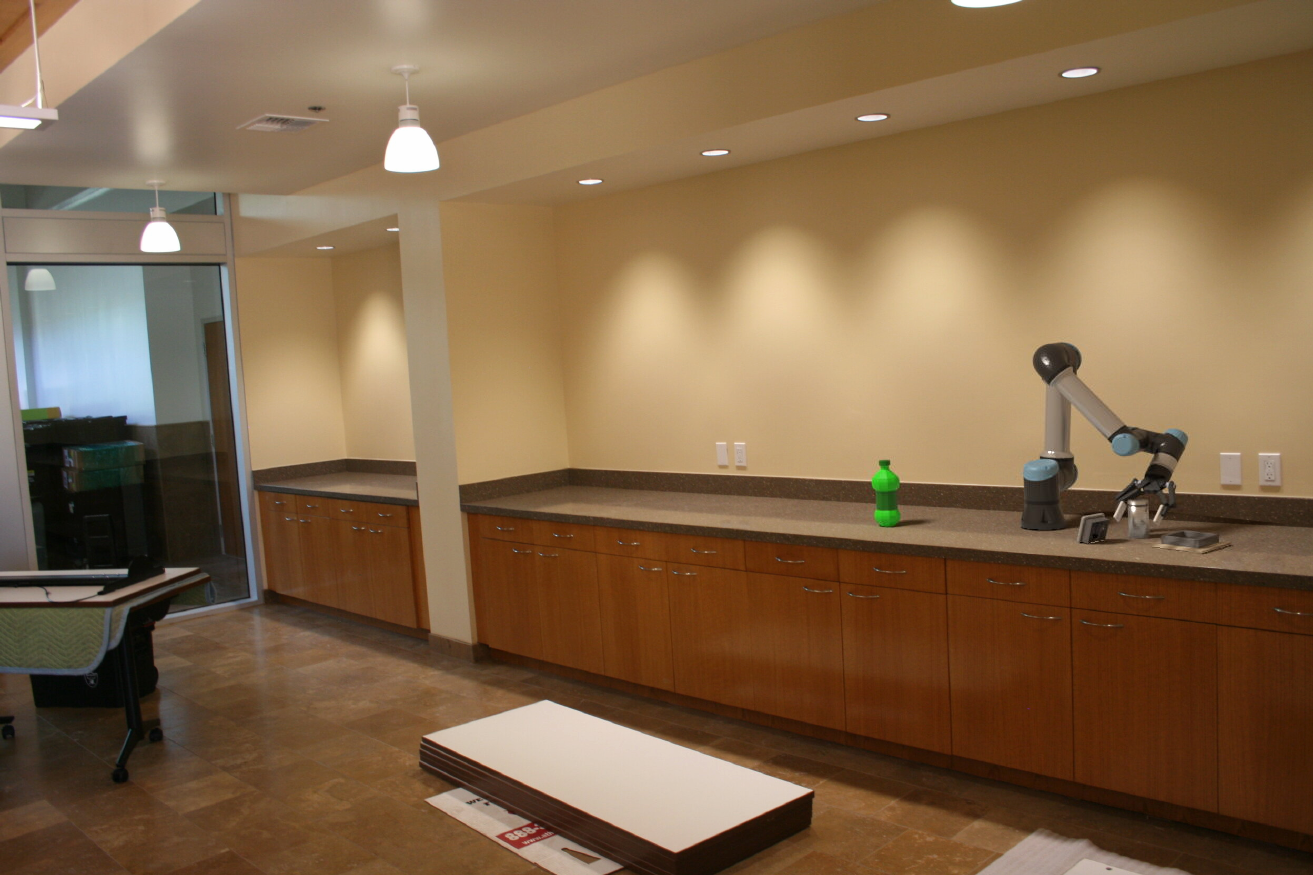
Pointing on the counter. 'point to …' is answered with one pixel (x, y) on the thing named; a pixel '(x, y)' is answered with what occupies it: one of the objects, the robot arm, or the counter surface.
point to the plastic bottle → (886, 495)
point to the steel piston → (1138, 518)
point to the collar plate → (1190, 541)
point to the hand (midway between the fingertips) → (1135, 521)
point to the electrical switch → (1093, 528)
